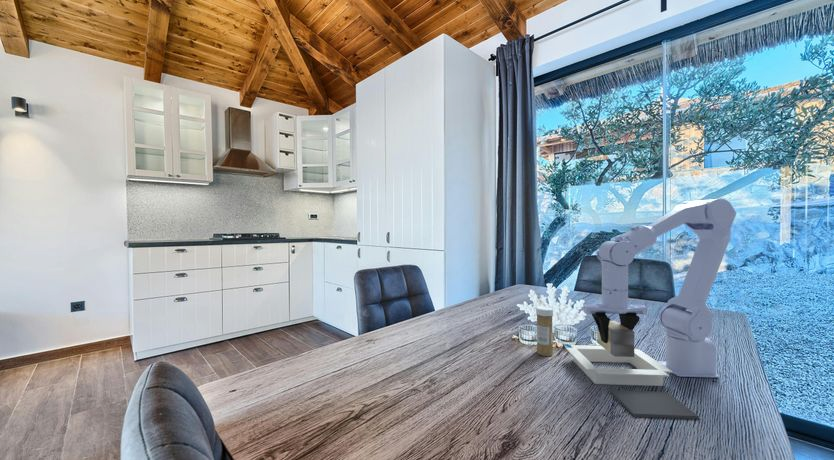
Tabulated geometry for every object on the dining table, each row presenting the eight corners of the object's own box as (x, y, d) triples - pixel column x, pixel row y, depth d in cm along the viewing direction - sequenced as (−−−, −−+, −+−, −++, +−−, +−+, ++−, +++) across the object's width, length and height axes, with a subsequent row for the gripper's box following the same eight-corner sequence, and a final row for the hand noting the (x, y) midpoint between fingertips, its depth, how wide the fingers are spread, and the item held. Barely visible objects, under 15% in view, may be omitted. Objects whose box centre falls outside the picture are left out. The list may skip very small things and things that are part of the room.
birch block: (614, 343, 87) (614, 320, 87) (634, 356, 79) (634, 331, 78) (596, 342, 88) (596, 320, 88) (614, 356, 79) (614, 331, 79)
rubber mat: (667, 394, 72) (667, 391, 72) (698, 419, 63) (698, 416, 63) (610, 392, 73) (610, 390, 73) (633, 416, 64) (633, 413, 64)
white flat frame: (634, 358, 91) (634, 346, 91) (678, 390, 74) (678, 375, 74) (563, 357, 93) (563, 344, 93) (590, 387, 76) (590, 373, 75)
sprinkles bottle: (556, 354, 95) (556, 308, 94) (546, 357, 92) (546, 310, 92) (542, 349, 99) (542, 304, 98) (532, 352, 96) (532, 307, 96)
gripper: (592, 291, 79) (591, 347, 80) (655, 292, 78) (654, 348, 79) (580, 286, 86) (579, 337, 87) (637, 286, 85) (637, 337, 86)
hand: (614, 341), depth 83 cm, fingers closed on birch block, 4 cm apart
